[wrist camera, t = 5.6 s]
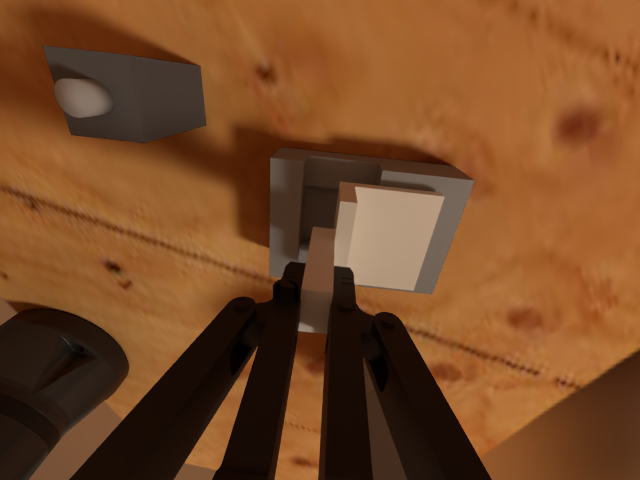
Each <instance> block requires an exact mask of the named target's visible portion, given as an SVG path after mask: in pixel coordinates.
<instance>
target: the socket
mask: <svg viewBox="0 0 640 480" xmlns="http://www.w3.org/2000/svg"><path fill="white" fill-rule="evenodd" d="M340 181H341V182H350V183H359V184H368V185H377V186H386V187H395V188H404V189H413V190H422V191H431V192H440V193H442V194H443V195H444V196H445V198H444V201H443V204H442V207H441V210H440V213H439V216H438V219H437V222H436V225H435V228H434V231H433V234H432V237H431V240H430V243H429V246H428V249H427V252H426V255H425V258H424V261H423V264H422V267H421V270H420V273H419V276H418V279H417V282H416V285H415V288H414V291H411V290H402V289H394V288H385V287H376V286H367V285H359V286H362V287H371V288H380V289H389V290H398V291H406V292H415V293H424V294H432V293H433V290H434V288H435V285H436V282H437V280H438V277H439V274H440V272H441V269H442V266H443V264H444V261H445V258H446V256H447V253H448V251H449V248H450V245H451V243H452V240H453V237H454V235H455V232H456V229H457V227H458V224H459V221H460V219H461V216H462V213H463V211H464V208H465V205H466V203H467V200H468V197H469V195H470V192H471V189H472V187H473V184H474V182H475V180H473V179H472V178H470V177H469V176H467V175H466V174H465V173H463V172H462V171H460V170H459V169H457V168H456V167H454V166H449V165H440V164H431V163H422V162H413V161H404V160H395V159H386V158H377V157H368V156H359V155H350V154H341V153H332V152H323V151H314V150H305V149H296V148H287V147H280V148H279V149H278V150H277V151H276V152H275V154H274V155H273V156H272V157H271V158H270V259H269V276H273V277H282V276H283V273H284V269H285V266H286V265H287V264H288V263H289V262H290V261H291V262H300V263H306V261H307V256H308V251H309V245H310V240H311V235H312V229H313V227H321V228H330V229H334V221H335V214H336V206H337V199H338V191H339V184H340Z"/></svg>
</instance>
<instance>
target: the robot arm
mask: <svg viewBox="0 0 640 480" xmlns="http://www.w3.org/2000/svg"><path fill="white" fill-rule="evenodd" d="M334 248H335V229H330V228H321V227H313V229H312V235H311V240H310V245H309V251H308V256H307V261H306V263H300V262H291V261H290V262H289V263H288V264H287V265H286V266H285V269H284V273H283V276H282V279H280V280H278V281H276V282H275V283H274V285H273V299H272V300H270V301H268V302H264V303H257V304H256V302H255V301H254V300H253V299H251V298H249V297H238V298H235V299H233V300H231V301H230V302H229V303H228V304H227V305H226V306H225V307H224V309H223V310H222V311H221V312H220V313H219V314H218V315H217V316H216V317H215V319H214V320H213V321H212V322H211V323H210V324H209V325H208V326H207V327H206V329H205V330H204V331H203V332H202V333H201V334H200V335H199V336H198V337H197V338H196V340H195V341H194V342H193V343H192V344H191V345H190V346H189V347H188V348H187V350H186V351H185V352H184V353H183V354H182V355H181V356H180V357H179V358H178V360H177V361H176V362H175V363H174V364H173V365H172V366H171V367H170V368H169V370H168V371H167V372H166V373H165V374H164V375H163V376H162V377H161V378H160V380H159V381H158V382H157V383H156V384H155V385H154V386H153V387H152V388H151V390H150V391H149V392H148V393H147V394H146V395H145V396H144V397H143V398H142V400H141V401H140V402H139V403H138V404H137V405H136V406H135V407H134V408H133V410H132V411H131V412H130V413H129V414H128V415H127V416H126V417H125V418H124V420H123V421H122V422H121V423H120V424H119V425H118V426H117V427H116V428H115V429H114V431H113V432H112V433H111V434H110V435H109V436H108V437H107V438H106V440H105V441H104V442H103V443H102V444H101V445H100V446H99V447H98V448H97V449H96V451H95V452H94V453H93V454H92V455H91V456H90V457H89V458H88V459H87V461H86V462H85V463H84V464H83V465H82V466H81V467H80V468H79V469H78V471H77V472H76V473H75V474H74V475H73V476H72V477H71V478H70V479H69V480H174V478H175V477H176V475H177V473H178V472H179V470H180V469H181V467H182V465H183V464H184V462H185V461H186V459H187V458H188V456H189V454H190V453H191V451H192V450H193V448H194V446H195V445H196V443H197V442H198V440H199V439H200V437H201V435H202V434H203V432H204V431H205V429H206V427H207V426H208V424H209V423H210V421H211V419H212V418H213V416H214V415H215V413H216V412H217V410H218V408H219V407H220V405H221V404H222V402H223V400H224V399H225V397H226V396H227V394H228V392H229V391H230V389H231V388H232V386H233V385H234V383H235V381H236V380H237V378H238V377H239V375H240V373H241V372H242V370H243V369H244V367H245V366H246V364H247V362H248V361H249V359H250V358H251V356H252V354H253V353H254V351H255V350H256V347H257V346H258V349H257V352H256V355H255V359H254V362H253V365H252V368H251V371H250V375H249V378H248V381H247V384H246V388H245V391H244V394H243V397H242V401H241V404H240V407H239V410H238V413H237V417H236V420H235V423H234V426H233V430H232V433H231V436H230V439H229V442H228V446H227V449H226V452H225V455H224V459H223V461H222V464H221V466H220V468H219V469H218V470H217V471H216V473H215V475H214V477H213V479H212V480H274V479H275V473H276V467H277V460H278V454H279V448H280V442H281V436H282V430H283V424H284V418H285V412H286V406H287V399H288V393H289V387H290V381H291V375H292V369H293V363H294V357H295V351H296V344H297V337H298V331H302V332H311V333H320V334H327V339H326V346H325V352H324V353H325V368H324V386H323V404H322V422H321V440H320V458H319V476H318V480H373V472H372V460H371V448H370V436H369V424H368V412H367V401H366V389H365V377H364V365H363V358H364V360H365V364H366V366H367V369H368V372H369V375H370V378H371V380H372V383H373V386H374V389H375V391H376V394H377V397H378V400H379V403H380V405H381V408H382V411H383V414H384V416H385V419H386V422H387V425H388V428H389V430H390V433H391V436H392V439H393V442H394V444H395V447H396V450H397V453H398V455H399V458H400V461H401V464H402V467H403V469H404V472H405V475H406V478H407V480H492V479H491V478H490V476H489V474H488V472H487V471H486V469H485V467H484V465H483V464H482V462H481V460H480V458H479V457H478V455H477V453H476V451H475V450H474V448H473V446H472V444H471V442H470V441H469V439H468V437H467V435H466V434H465V432H464V430H463V428H462V427H461V425H460V423H459V421H458V420H457V418H456V416H455V414H454V413H453V411H452V409H451V407H450V406H449V404H448V402H447V400H446V399H445V397H444V395H443V393H442V392H441V390H440V388H439V386H438V385H437V383H436V381H435V379H434V378H433V376H432V374H431V372H430V371H429V369H428V367H427V365H426V364H425V362H424V360H423V358H422V357H421V355H420V353H419V351H418V349H417V348H416V346H415V344H414V342H413V341H412V339H411V337H410V335H409V334H408V332H407V330H406V328H405V327H404V325H403V323H402V321H401V320H400V319H399V318H398V317H397V316H395V315H394V314H391V313H389V312H380V313H378V314H376V315H375V316H372V315H369V314H367V313H365V312H363V311H362V310H360V309H359V308H358V305H357V304H356V297H355V285H354V273H353V271H352V270H351V269H350V267H341V266H334ZM128 371H129V364H128V360H127V357H126V355H125V353H124V352H123V350H122V349H121V347H120V346H119V345H118V344H117V343H116V342H115V341H114V340H113V339H112V338H111V337H110V336H109V335H108V334H106V333H105V332H104V331H102V330H101V329H99V328H98V327H96V326H94V325H93V324H91V323H89V322H87V321H85V320H83V319H81V318H78V317H76V316H73V315H70V314H67V313H63V312H59V311H54V310H47V309H32V310H26V311H23V312H20V313H18V314H16V315H15V316H13V317H12V318H11V319H9V320H8V321H7V322H5V323H4V324H3V325H1V326H0V480H29V479H30V477H31V476H32V475H33V474H34V472H35V471H36V470H37V468H38V467H39V466H40V465H41V463H42V462H43V461H44V459H45V458H46V457H47V456H48V454H49V453H50V451H52V449H53V448H54V447H55V445H56V444H57V443H58V442H59V440H60V439H61V438H62V437H63V436H64V435H65V433H66V432H67V431H69V430H70V429H71V428H72V427H73V426H75V425H76V424H77V423H78V422H80V421H81V420H82V419H83V418H84V417H85V416H87V415H88V414H89V413H90V412H91V411H93V410H94V409H95V408H96V407H97V406H98V405H99V404H101V403H102V402H103V401H104V400H106V399H108V398H109V397H110V396H112V395H113V394H114V393H115V391H116V390H117V389H118V388H119V386H120V385H121V383H122V382H123V381H124V379H125V378H126V377H127V375H128Z"/></svg>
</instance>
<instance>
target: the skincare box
mask: <svg viewBox="0 0 640 480" xmlns="http://www.w3.org/2000/svg"><path fill="white" fill-rule="evenodd" d="M363 365H364V377H365V389H366V401H367V412H368V424H369V436H370V448H371V460H372V472H373V480H407V478H406V475H405V472H404V469H403V467H402V464H401V461H400V458H399V455H398V453H397V450H396V447H395V444H394V442H393V439H392V436H391V433H390V430H389V428H388V425H387V422H386V419H385V416H384V414H383V411H382V408H381V405H380V403H379V400H378V397H377V394H376V391H375V389H374V386H373V383H372V380H371V378H370V375H369V372H368V369H367V366H366V364H365V360H364V358H363Z"/></svg>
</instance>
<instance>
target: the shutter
mask: <svg viewBox="0 0 640 480" xmlns="http://www.w3.org/2000/svg"><path fill="white" fill-rule="evenodd" d="M444 198H445V196H444V195H443V194H442V193H440V192H431V191H422V190H413V189H404V188H395V187H386V186H377V185H368V184H359V183H350V182H341V181H340V184H339V191H338V199H337V206H336V214H335V221H334V229H335V248H334V266H341V267H350V269H351V270H352V271H353V273H354V284H358V285H367V286H376V287H385V288H394V289H402V290H411V291H414V288H415V285H416V282H417V279H418V276H419V273H420V270H421V267H422V264H423V261H424V258H425V255H426V252H427V249H428V246H429V243H430V240H431V237H432V234H433V231H434V228H435V225H436V222H437V219H438V216H439V213H440V210H441V207H442V204H443V201H444Z"/></svg>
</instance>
